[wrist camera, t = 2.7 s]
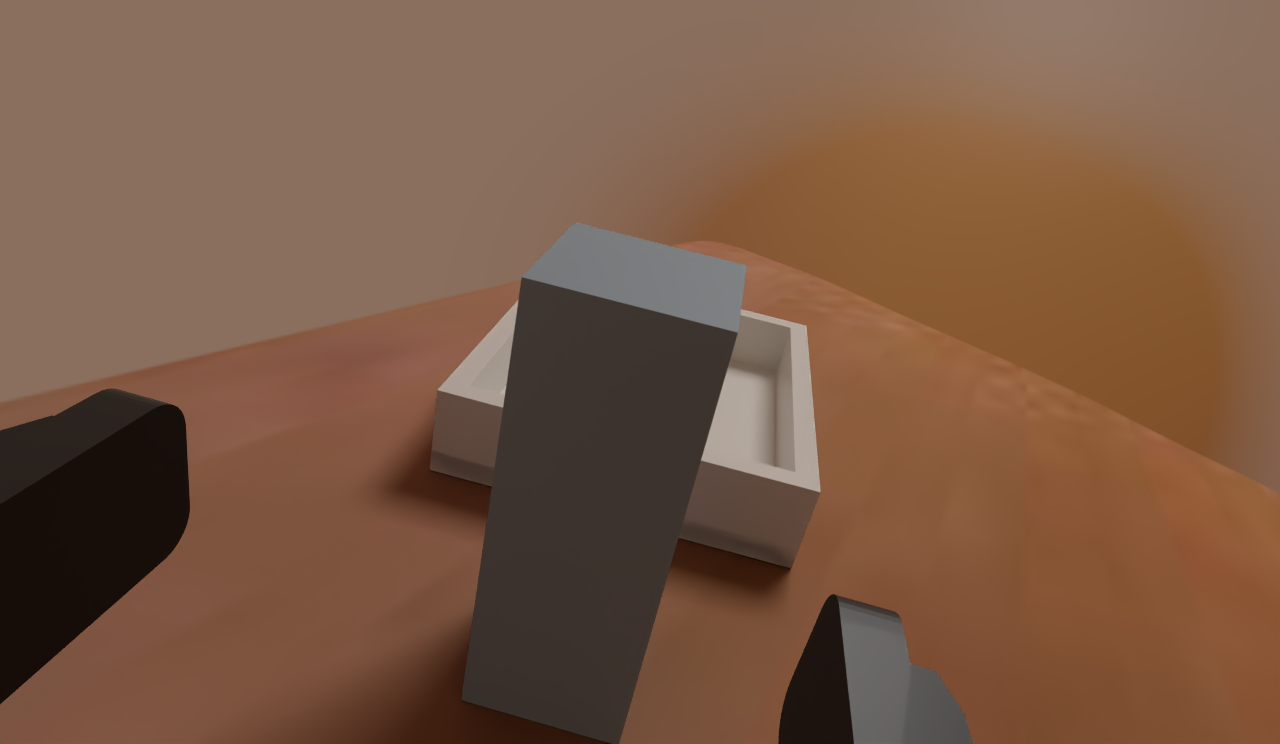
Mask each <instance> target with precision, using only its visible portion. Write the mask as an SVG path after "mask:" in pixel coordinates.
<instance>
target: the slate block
mask: <svg viewBox="0 0 1280 744" xmlns="http://www.w3.org/2000/svg"><path fill="white" fill-rule="evenodd" d="M746 267H747V265H743V264H739V263H735V262H731V261H727V260H723V259H719V258H715V257H711V256H707V255H703V254H699V253H695V252H691V251H687V250H683V249H679V248H676V247H672V246H668V245H664V244H660V243H656V242H652V241H648V240H644V239H640V238H636V237H632V236H628V235H624V234H620V233H616V232H612V231H608V230H604V229H600V228H595V227H592V226H588V225H584V224H580V223H576V222H574V223H573V224H572V225H571V227H570V228H569V229H568V230H567V231H566V232H565V233H564V234H563V235H562V236H561V237H560V238H559V239H558V240H557V241H556V242H555V243H554V244H553V245H552V246H551V247H550V248H549V249H548V250H547V251H546V252H545V254H544V255H543V256H542V257H541V258H540V259H539V260H538V261H537V262H536V263H535V264H534V265H533V266H532V267H531V268H530V269H529V270H528V271H527V272H526V273H525V274H524V275H523V276H522V279H521V286H520V293H519V300H518V307H517V314H516V321H515V328H514V335H513V342H512V349H511V356H510V363H509V370H508V377H507V384H506V391H505V398H504V405H503V412H502V419H501V426H500V433H499V439H498V446H497V453H496V460H495V467H494V474H493V481H492V488H491V495H490V502H489V509H488V516H487V523H486V530H485V537H484V544H483V551H482V558H481V565H480V572H479V579H478V586H477V593H476V600H475V606H474V613H473V620H472V627H471V634H470V641H469V648H468V655H467V662H466V669H465V676H464V683H463V690H462V697H461V700H462V701H466V702H469V703H473V704H476V705H480V706H483V707H486V708H490V709H493V710H497V711H500V712H504V713H507V714H511V715H514V716H517V717H521V718H524V719H528V720H531V721H535V722H538V723H542V724H545V725H548V726H552V727H555V728H559V729H562V730H566V731H569V732H573V733H576V734H579V735H583V736H586V737H590V738H593V739H597V740H600V741H604V742H607V743H610V744H619V742H620V738H621V735H622V731H623V728H624V725H625V721H626V718H627V714H628V711H629V707H630V704H631V700H632V697H633V693H634V690H635V687H636V683H637V680H638V676H639V673H640V669H641V666H642V662H643V659H644V655H645V652H646V649H647V645H648V642H649V638H650V635H651V631H652V628H653V624H654V621H655V618H656V614H657V611H658V607H659V604H660V600H661V597H662V593H663V590H664V586H665V583H666V580H667V576H668V573H669V569H670V566H671V562H672V559H673V555H674V552H675V549H676V545H677V542H678V538H679V535H680V531H681V528H682V524H683V521H684V517H685V514H686V511H687V507H688V504H689V500H690V497H691V493H692V490H693V486H694V483H695V479H696V476H697V473H698V469H699V466H700V462H701V459H702V455H703V452H704V448H705V445H706V442H707V438H708V435H709V431H710V428H711V424H712V421H713V417H714V414H715V410H716V407H717V404H718V400H719V397H720V393H721V390H722V386H723V383H724V379H725V376H726V372H727V369H728V366H729V362H730V359H731V355H732V352H733V348H734V345H735V341H736V338H737V335H738V329H739V321H740V314H741V306H742V298H743V290H744V282H745V275H746Z"/></svg>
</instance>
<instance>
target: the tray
mask: <svg viewBox="0 0 1280 744" xmlns="http://www.w3.org/2000/svg"><path fill="white" fill-rule="evenodd" d="M517 307H518V301H517V302H516V303H515V304H514V305H513V306H512V308H511V309H510V310H509V311H508V312H507V313H506V314H505V315H504V316H503V318H502V319H501V320H500V321H499V322H498V323H497V324H496V325H495V326H494V328H493V329H492V330H491V331H490V332H489V333H488V334H487V335H486V336H485V338H484V339H483V340H482V341H481V342H480V343H479V344H478V345H477V347H476V348H475V349H474V350H473V351H472V352H471V353H470V354H469V355H468V357H467V358H466V359H465V360H464V361H463V362H462V363H461V364H460V365H459V367H458V368H457V369H456V370H455V371H454V372H453V373H452V374H451V375H450V377H449V378H448V379H447V380H446V381H445V382H444V383H443V384H442V385H441V387H440V388H439V389H438V390H437V399H436V410H435V420H434V430H433V440H432V451H431V461H430V470H433V471H436V472H440V473H444V474H447V475H451V476H455V477H458V478H462V479H466V480H469V481H473V482H477V483H480V484H484V485H488V486H491V487H492V481H493V474H494V467H495V460H496V453H497V446H498V439H499V433H500V426H501V419H502V412H503V405H504V398H505V391H506V384H507V377H508V370H509V363H510V356H511V349H512V342H513V335H514V328H515V321H516V314H517ZM819 495H820V481H819V469H818V457H817V446H816V434H815V422H814V410H813V398H812V387H811V375H810V363H809V351H808V339H807V328H806V326H805V325H801V324H797V323H793V322H789V321H786V320H782V319H778V318H774V317H770V316H766V315H762V314H758V313H754V312H750V311H746V310H742V309H741V314H740V321H739V329H738V335H737V338H736V341H735V345H734V348H733V352H732V355H731V359H730V362H729V366H728V369H727V372H726V376H725V379H724V383H723V386H722V390H721V393H720V397H719V400H718V404H717V407H716V410H715V414H714V417H713V421H712V424H711V428H710V431H709V435H708V438H707V442H706V445H705V448H704V452H703V455H702V459H701V462H700V466H699V469H698V473H697V476H696V479H695V483H694V486H693V490H692V493H691V497H690V500H689V504H688V507H687V511H686V514H685V517H684V521H683V524H682V528H681V531H680V535H679V538H682V539H685V540H689V541H693V542H696V543H700V544H704V545H707V546H711V547H714V548H718V549H722V550H725V551H729V552H733V553H736V554H740V555H744V556H747V557H751V558H755V559H758V560H762V561H766V562H769V563H773V564H777V565H780V566H784V567H788V568H792V565H793V563H794V560H795V557H796V555H797V552H798V550H799V547H800V544H801V542H802V539H803V537H804V534H805V531H806V529H807V526H808V524H809V521H810V518H811V516H812V513H813V510H814V508H815V505H816V503H817V500H818V497H819Z"/></svg>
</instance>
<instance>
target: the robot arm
mask: <svg viewBox="0 0 1280 744" xmlns="http://www.w3.org/2000/svg"><path fill="white" fill-rule="evenodd" d="M189 512H190V499H189V479H188V459H187V440H186V423H185V418H184V415H183V413H182V411H181V410H180V409H179V408H178V407H176V406H174V405H172V404H168V403H164V402H161V401H157V400H154V399H150V398H147V397H143V396H140V395H136V394H133V393H129V392H126V391H122V390H118V389H106V390H102V391H100V392H98V393H96V394H94V395H92V396H90V397H88V398H87V399H85V400H83V401H81V402H79V403H77V404H76V405H74V406H72V407H70V408H68V409H66V410H65V411H63V412H61V413H59V414H57V415H56V416H49V417H45V418H42V419H39V420H35V421H32V422H28V423H25V424H21V425H18V426H15V427H11V428H8V429H4V430H1V431H0V704H1V703H2V702H3V701H4V700H5V699H7V698H8V697H9V696H10V695H11V694H12V693H13V692H15V691H16V690H17V689H18V688H19V687H20V686H21V685H23V684H24V683H25V682H26V681H27V680H28V679H29V678H30V677H32V676H33V675H34V674H35V673H36V672H37V671H38V670H40V669H41V668H42V667H43V666H44V665H45V664H46V663H48V662H49V661H50V660H51V659H52V658H53V657H54V656H55V655H57V654H58V653H59V652H60V651H61V650H62V649H63V648H65V647H66V646H67V645H68V644H69V643H70V642H71V641H73V640H74V639H75V638H76V637H77V636H78V635H79V634H80V633H82V632H83V631H84V630H85V629H86V628H87V627H88V626H90V625H91V624H92V623H93V622H94V621H95V620H96V619H98V618H99V617H100V616H101V615H102V614H103V613H104V612H105V611H107V610H108V609H109V608H110V607H111V606H112V605H113V604H115V603H116V602H117V601H118V600H119V599H120V598H121V597H123V596H124V595H125V594H126V593H127V592H128V591H129V590H130V589H132V588H133V587H134V586H135V585H136V584H137V583H138V582H140V581H141V580H142V579H143V578H144V577H145V576H146V575H148V574H149V573H150V572H151V571H152V570H153V569H154V568H155V567H157V566H158V565H159V564H160V563H161V562H162V561H163V560H164V559H166V558H167V557H168V556H169V554H170V553H171V552H172V551H173V550H174V548H175V547H176V545H177V544H178V542H179V541H180V539H181V537H182V535H183V533H184V531H185V528H186V525H187V522H188V518H189ZM778 744H973V743H972V740H971V736H970V732H969V729H968V725H967V721H966V718H965V714H964V713H963V711H962V710H961V708H960V707H959V705H958V704H957V702H956V701H955V699H954V698H953V696H952V695H951V693H950V692H949V690H948V689H947V687H946V686H945V684H944V683H943V681H942V680H941V678H940V677H939V675H938V674H937V672H936V671H933V670H929V669H926V668H922V667H919V666H915V665H912V664H910V660H909V655H908V650H907V645H906V640H905V636H904V631H903V626H902V622H901V619H900V617H899V615H898V614H897V613H896V612H894V611H891V610H887V609H884V608H880V607H877V606H873V605H870V604H866V603H862V602H859V601H855V600H852V599H848V598H845V597H841V596H838V595H834V594H833V595H830V596H829V597H828V599H827V600H826V602H825V603H824V605H823V607H822V609H821V612H820V614H819V616H818V619H817V621H816V623H815V626H814V628H813V630H812V633H811V635H810V637H809V640H808V642H807V644H806V647H805V649H804V651H803V654H802V656H801V658H800V661H799V663H798V665H797V668H796V670H795V672H794V675H793V677H792V679H791V681H790V684H789V687H788V690H787V693H786V696H785V700H784V704H783V708H782V713H781V719H780V727H779V742H778Z"/></svg>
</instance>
